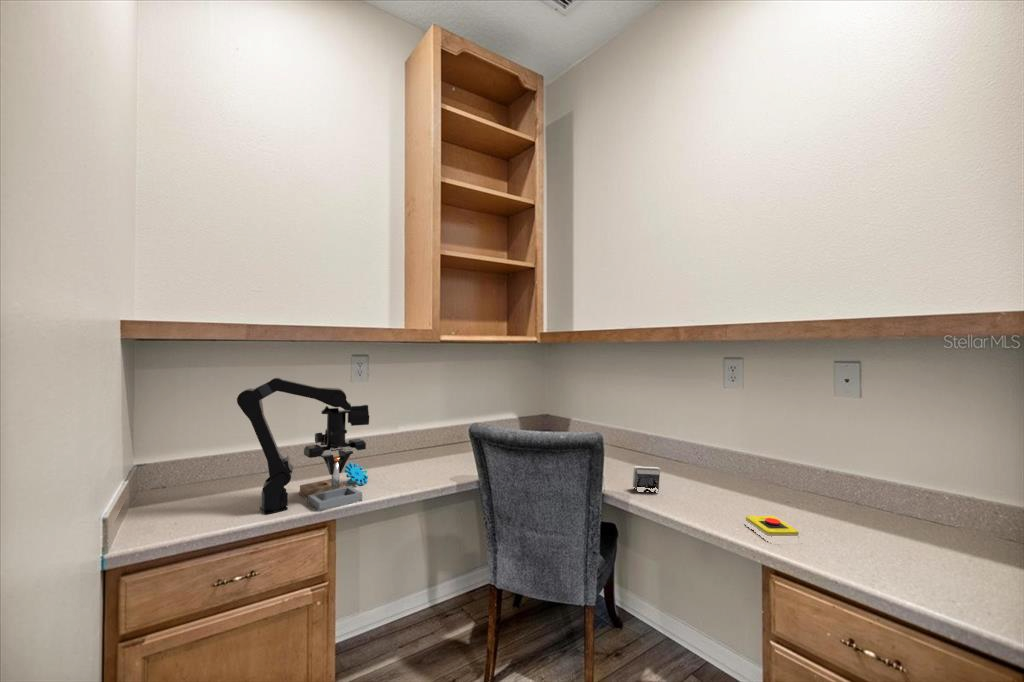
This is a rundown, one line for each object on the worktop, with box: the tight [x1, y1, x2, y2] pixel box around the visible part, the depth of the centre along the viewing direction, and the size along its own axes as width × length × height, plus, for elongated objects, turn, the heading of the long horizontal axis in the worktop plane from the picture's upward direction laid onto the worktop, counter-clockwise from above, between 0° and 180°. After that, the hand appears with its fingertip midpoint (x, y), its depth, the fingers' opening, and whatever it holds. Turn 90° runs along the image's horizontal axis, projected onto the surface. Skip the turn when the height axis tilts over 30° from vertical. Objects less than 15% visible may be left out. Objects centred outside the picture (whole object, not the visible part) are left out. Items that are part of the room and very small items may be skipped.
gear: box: [344, 462, 369, 486], centre depth 166 cm, size 11×6×10 cm
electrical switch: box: [632, 465, 661, 491], centre depth 159 cm, size 9×5×9 cm, turn 83°
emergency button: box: [745, 515, 800, 537], centre depth 125 cm, size 9×4×15 cm
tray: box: [307, 485, 363, 512], centre depth 146 cm, size 14×10×2 cm
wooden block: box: [299, 478, 344, 500], centre depth 155 cm, size 12×8×3 cm, turn 134°
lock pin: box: [331, 455, 341, 488], centre depth 146 cm, size 3×3×10 cm
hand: (335, 473), depth 146 cm, fingers closed on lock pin, 3 cm apart
